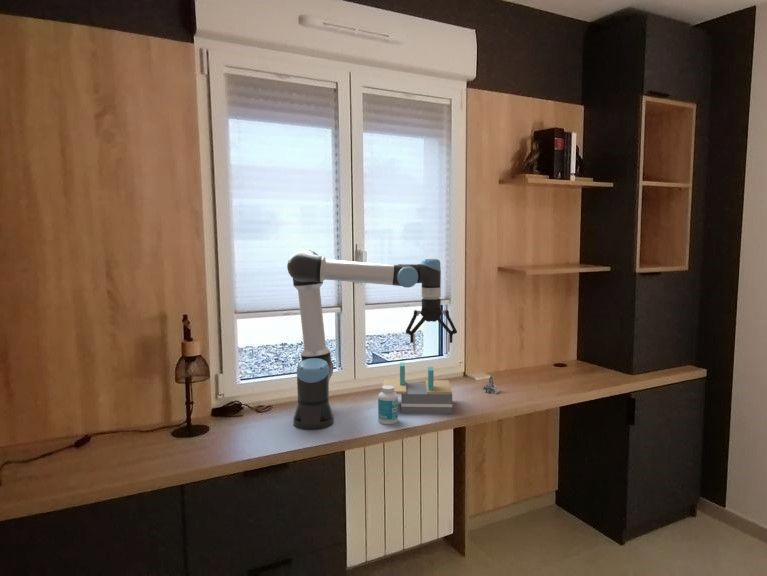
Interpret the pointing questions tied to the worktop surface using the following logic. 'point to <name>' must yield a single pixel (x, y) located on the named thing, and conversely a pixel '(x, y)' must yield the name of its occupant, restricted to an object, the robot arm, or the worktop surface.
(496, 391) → the grey irregular piece
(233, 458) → the worktop surface
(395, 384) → the flap
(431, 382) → the flap
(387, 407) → the pill bottle
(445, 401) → the carton
